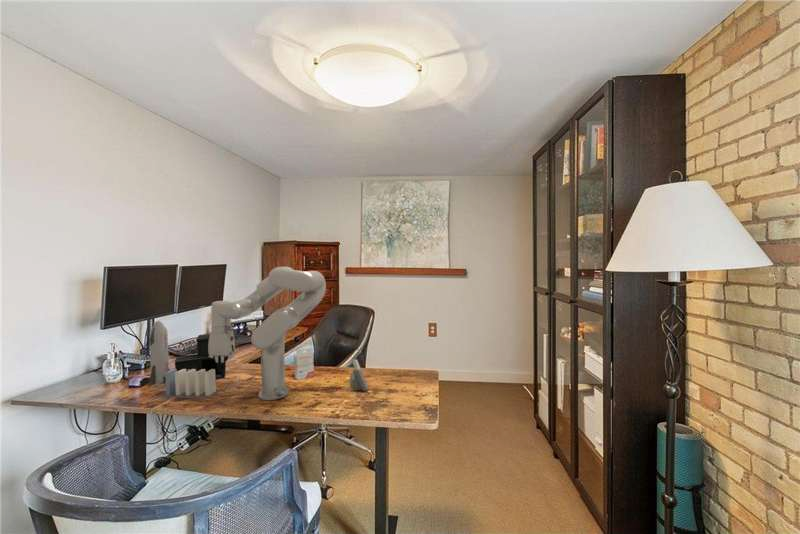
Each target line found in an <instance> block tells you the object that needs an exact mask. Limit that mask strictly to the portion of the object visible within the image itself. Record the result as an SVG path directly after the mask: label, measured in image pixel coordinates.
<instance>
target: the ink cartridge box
mask: <svg viewBox="0 0 800 534" xmlns="http://www.w3.org/2000/svg"><path fill="white" fill-rule="evenodd" d="M304 351H305V352H304ZM313 351H314V349H313V347H309V348H301V349H297V350H296V353H294V354H293V360H294V361H293V362H294V378H295V379H296V380H298V381H299V380H304V379H308V378H314V377H315V370H314V369H315V368H314V367H315V366H314V365H315V363H314V352H313Z"/></svg>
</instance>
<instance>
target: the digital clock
mask: <svg viewBox="0 0 800 534" xmlns="http://www.w3.org/2000/svg"><path fill="white" fill-rule="evenodd" d="M351 363H352V365H353V371H352V372H351V373H350V377H349V381H350V382H349V383H350V386H351V387H350V388H351V391H359V390H363V391H364V392H367V391H368V389H369V387H368V384H367V380H366V378H365V375H364V373H363V371H362V367H361V366H360V363H359V361H358V359H353V360H352V362H351Z"/></svg>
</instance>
